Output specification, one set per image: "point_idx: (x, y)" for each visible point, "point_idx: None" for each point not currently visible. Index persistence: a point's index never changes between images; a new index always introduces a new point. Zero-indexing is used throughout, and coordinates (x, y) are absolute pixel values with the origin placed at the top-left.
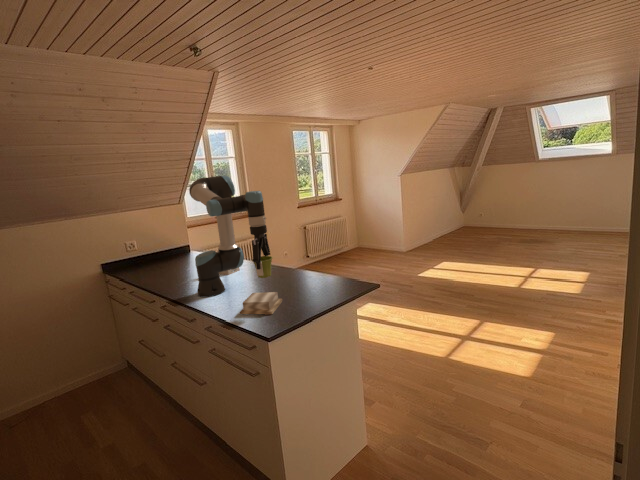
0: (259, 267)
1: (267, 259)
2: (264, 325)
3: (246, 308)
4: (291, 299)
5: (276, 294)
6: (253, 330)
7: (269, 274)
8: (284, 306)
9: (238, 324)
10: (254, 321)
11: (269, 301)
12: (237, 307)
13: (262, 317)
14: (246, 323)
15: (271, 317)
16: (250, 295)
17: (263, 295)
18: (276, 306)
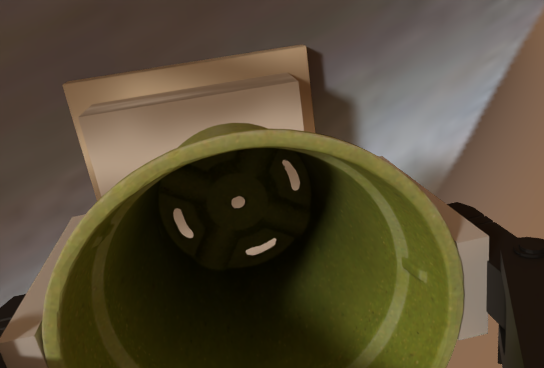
0: (481, 213)
1: (89, 298)
2: (458, 14)
3: None
4: (14, 21)
5: (108, 110)
6: (516, 50)
7: (257, 126)
8: (160, 17)
9: (441, 180)
10: (404, 109)
11: (280, 83)
12: None
13: (349, 88)
14: (429, 142)
15: (347, 25)
16: None
17: None
18: (206, 61)
